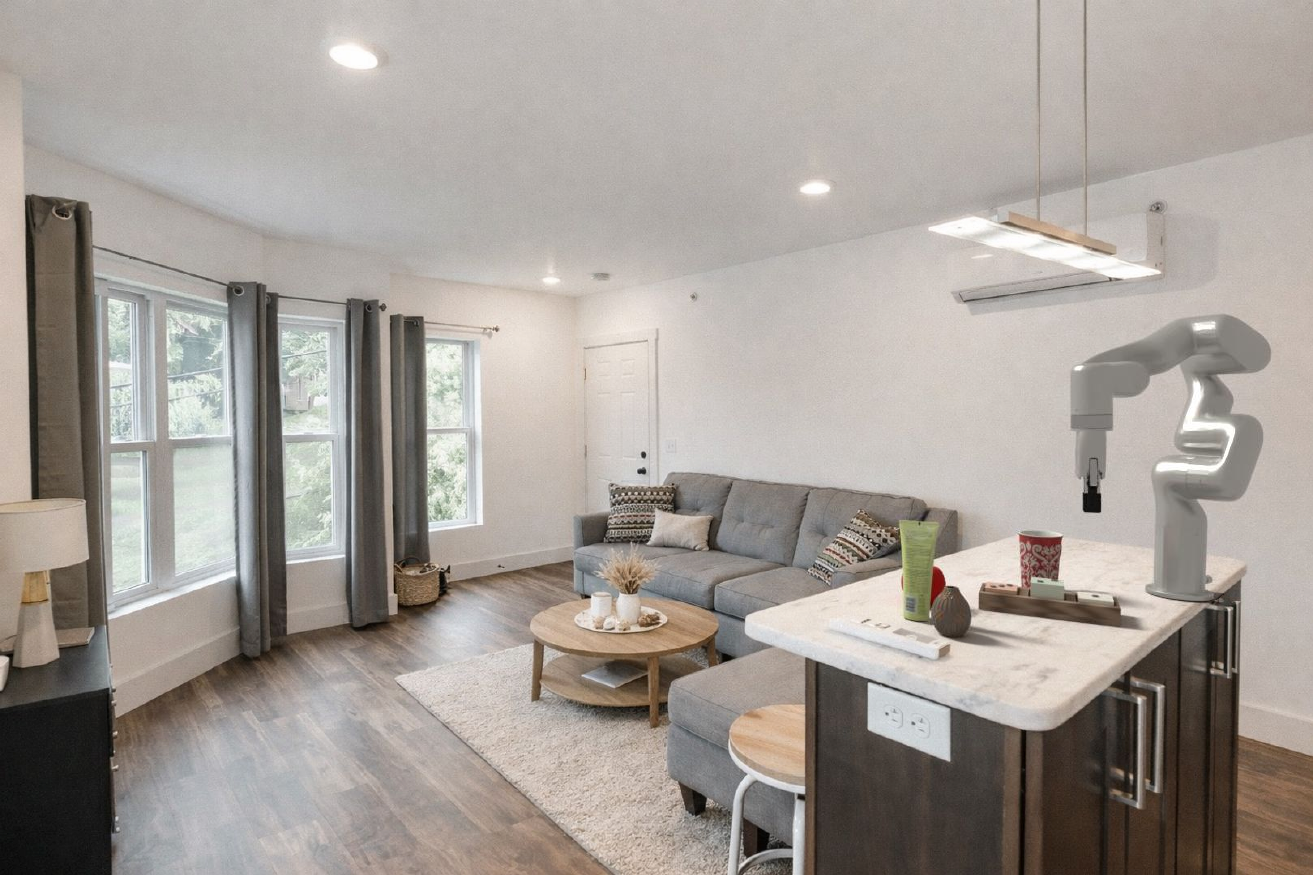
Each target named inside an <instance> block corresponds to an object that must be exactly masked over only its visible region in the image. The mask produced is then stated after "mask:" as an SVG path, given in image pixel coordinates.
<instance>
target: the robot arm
mask: <svg viewBox="0 0 1313 875" xmlns="http://www.w3.org/2000/svg"><path fill="white" fill-rule="evenodd" d="M1271 359H1272V349H1271V345H1270V343H1269V341H1268V340H1267V338H1265V336H1263V335H1262V333H1260V332H1258V331H1257V330H1256V329H1254V328H1253V327H1252V326H1250V325H1249V324H1248V323H1246V322H1244V321H1243V320H1242V319H1239V318H1238V317H1236V316H1234V315H1230V314H1226V313H1219V314H1217V313H1216V314H1209V315H1207V314H1206V315H1199V316H1188V317H1182V318H1178V319H1176V320H1173V321H1171V322H1169V323H1167V324H1166V325H1164V326H1163V327H1160V328H1159V329H1157V330H1156V331H1154V332H1152V333H1151V334H1149V335H1147V336H1145V337H1144V338H1141V339H1138V340H1135V341H1132V342H1129V343H1126V344H1123V345H1121V346H1118V347H1115V348H1114V347H1113V348H1111V349H1108V350H1105V351H1103V352H1100V353H1097V354H1095V355H1093V356H1091V357H1090V358H1087V359H1086V360H1085V361H1083V362H1081V363H1079V364H1075V365H1073V366H1072V368H1071V369H1070V374H1069V375H1070V376H1069V377H1070V380H1069V381H1070V385H1069V386H1070V392H1069V393H1070V432H1076V433H1075V449H1074V450H1075V453H1074V454H1075V457H1074V458H1075V462H1074V463H1075V466H1074V467H1075V469H1074V474H1075V477H1076V478H1077V479H1078V480H1082V479H1083V491H1082V511H1083V513H1085V514H1087V513H1088V514H1100V513H1101V512H1102V493H1101V481H1102V480H1104V479H1105V478H1106V471H1107V432H1111V431H1114V399H1117V398H1119V399H1120V398H1122V399H1123V398H1133V397H1137V396H1139V395H1141V394H1143V393H1144V392H1145V391H1146V390H1147V388H1148V387H1149V385H1150V381H1151V380H1150V379H1151V377H1152V376H1157V375H1162V374H1164V373H1166V372H1169V371H1170V370H1172V369H1174V368H1175V367H1176V366H1178V365H1179V367H1180V370H1181V373H1182V375H1183V378H1184V381H1185V384H1186V387H1187V388H1186V389H1187V397H1186V398H1187V399H1186V402H1185V405H1184V407H1183V410H1182V413H1181V415H1180V418H1179V421H1178V423H1177V425H1176V429H1175V432H1174V434H1173V435H1174V436H1173V443H1174V446H1175V448H1176V449H1177V450H1178V451H1180V452H1181V453H1184V454H1171V455H1166V456H1162V457H1160V458H1159V459H1157V460H1156V461H1155V462H1154V463H1153V465H1152V467H1151V471H1150V473H1151V474H1150V478H1151V483H1152V488H1153V494H1154V503H1155V504H1154V506H1155V514H1154V516H1155V519H1154V521H1155V522H1154V554H1153V583H1152V582H1151V583H1148V584H1145V587H1144V590H1145V591H1146V592H1147V593H1149V594H1151V595H1153V596H1157V597H1162V598H1166V599H1171V600H1179V601H1188V602H1189V601H1190V602H1208V601H1212V600H1214V599H1215V594H1214V592H1212V591H1210V590H1208V589H1206V585H1208V584H1209V585H1210V584H1211V583H1212V582H1213V581H1214V579H1213V577H1212V576H1211V575H1209V574H1207V553H1208V552H1207V551H1208V550H1207V548H1208V547H1207V546H1208V524H1209V522H1208V517H1207V514H1206V512H1205V510H1204V508H1203V506H1201V504H1200V503H1199V501H1198V500H1204V501H1211V502H1213V501H1216V502H1224V503H1225V502H1226V503H1228V502H1229V503H1230V502H1236V501H1238V500H1240V499H1241V498H1243V496H1244V495H1245V494H1246V492H1247V490H1248V488H1249V485H1250V482H1251V480H1252V476H1253V474H1254V471H1255V469H1256V466H1257V463H1258V459H1259V458H1260V454H1261V451H1262V448H1263V445H1264V430H1263V425H1262V424H1261V421H1259V420H1258V419H1257V418H1256V417H1254V416H1252V415H1250V414H1245V413H1231V412H1232V408H1233V405H1234V396H1233V394H1232V391H1231V390H1230V388H1229V387H1228V386H1227V385H1226V384H1225V383H1224V382H1223V381H1222V380H1221V379H1220V377H1219V375H1242V374H1243V375H1245V374H1254V373H1259V372H1260V371H1263V370H1264V369H1265V368H1266V367H1267V366H1268V365H1269V364H1270V361H1271Z"/></svg>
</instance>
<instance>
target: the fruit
mask: <svg viewBox="0 0 1313 875" xmlns="http://www.w3.org/2000/svg"><path fill="white" fill-rule="evenodd" d="M943 572H944V571H942V570H941V568H939V567H938V566H934V565H933V574H932V586H931V599H930V606H932V605H933V603H934V601H935V599H936V598H937V597H938V596H939V594H940V593H941V592H942V591H943V589H944V587H945V586H947V582H946V577H945V575H944V573H943ZM900 580H901V581H900V583H901V590H902V591H903V573H902V574H901V579H900Z"/></svg>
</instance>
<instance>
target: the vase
mask: <svg viewBox="0 0 1313 875" xmlns="http://www.w3.org/2000/svg"><path fill="white" fill-rule="evenodd" d="M930 611H931V612H930V616H931V622H932V625H933V627H934V628H935V630H936V631H937V633H939V634H940V635H942V636H945V637H948V638H949V637H950V638H960V637H963V636H964V635H965V634H966V633H967V632H968V631H969V629H970V627H971V625H972V624H971V623H972V610H971V607H970V604H969V602H968V601H967V599H966V598H965V597H964V595H963V594H962V592H961V590H960V588H959V587H958V586H954V585H946V586H945V587H944V589H943V591H942V592H941V593H940V594H939V596H938V597H937V598H936V599H935V601H934V603H933V605H931V608H930Z"/></svg>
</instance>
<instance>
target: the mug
mask: <svg viewBox="0 0 1313 875" xmlns="http://www.w3.org/2000/svg"><path fill="white" fill-rule="evenodd" d="M1017 534H1018V538H1019V539H1018V541H1019V557H1020V558H1019V562H1020V563H1019V564H1020V566H1019V567H1020V587H1027V588H1030V586H1031V577H1038V578H1048V579H1058V580H1059V574H1060V565H1061V564H1060V563H1061V562H1060V561H1061V556H1062V549H1063V548H1062V547H1063V546H1062V541H1063V537H1064V534H1062V533H1059V532H1056V531H1049V530H1039V529H1027V530H1026V529H1025V530H1020V531H1018V533H1017Z"/></svg>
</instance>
